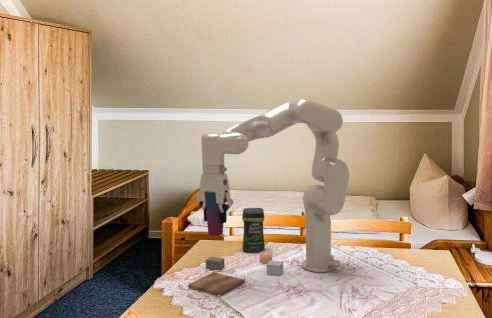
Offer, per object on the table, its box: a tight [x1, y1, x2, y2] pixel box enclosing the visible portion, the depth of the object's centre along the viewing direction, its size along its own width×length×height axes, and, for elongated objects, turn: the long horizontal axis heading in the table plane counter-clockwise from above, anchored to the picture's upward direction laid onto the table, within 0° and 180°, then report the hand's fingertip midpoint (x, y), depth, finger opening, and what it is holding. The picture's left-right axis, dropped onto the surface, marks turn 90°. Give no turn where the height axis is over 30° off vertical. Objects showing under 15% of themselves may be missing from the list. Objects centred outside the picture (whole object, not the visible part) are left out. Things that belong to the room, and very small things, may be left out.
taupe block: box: [205, 256, 225, 271], centre depth 181 cm, size 6×4×4 cm, turn 69°
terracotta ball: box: [259, 250, 273, 265], centre depth 186 cm, size 5×5×4 cm
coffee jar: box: [241, 207, 266, 253], centre depth 202 cm, size 10×8×19 cm
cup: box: [204, 192, 224, 237], centre depth 161 cm, size 7×7×15 cm
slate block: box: [266, 259, 284, 277], centre depth 175 cm, size 5×5×4 cm
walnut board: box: [187, 271, 246, 297], centre depth 164 cm, size 14×14×1 cm
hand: (215, 221), depth 161 cm, fingers closed on cup, 6 cm apart
